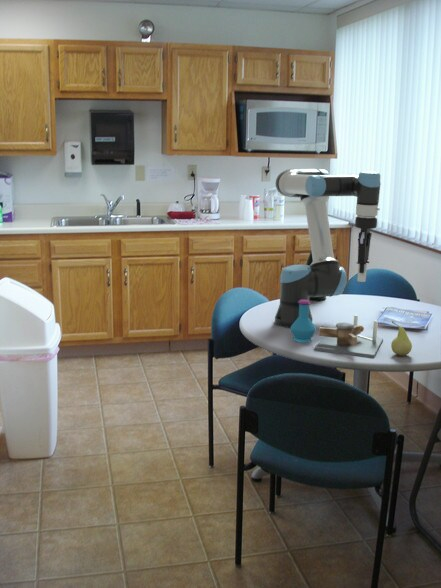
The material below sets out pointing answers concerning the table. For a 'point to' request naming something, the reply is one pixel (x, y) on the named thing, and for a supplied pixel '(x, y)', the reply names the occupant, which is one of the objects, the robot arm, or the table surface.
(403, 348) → the fruit
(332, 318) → the table surface
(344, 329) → the capstan
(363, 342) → the stand
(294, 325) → the perfume bottle
